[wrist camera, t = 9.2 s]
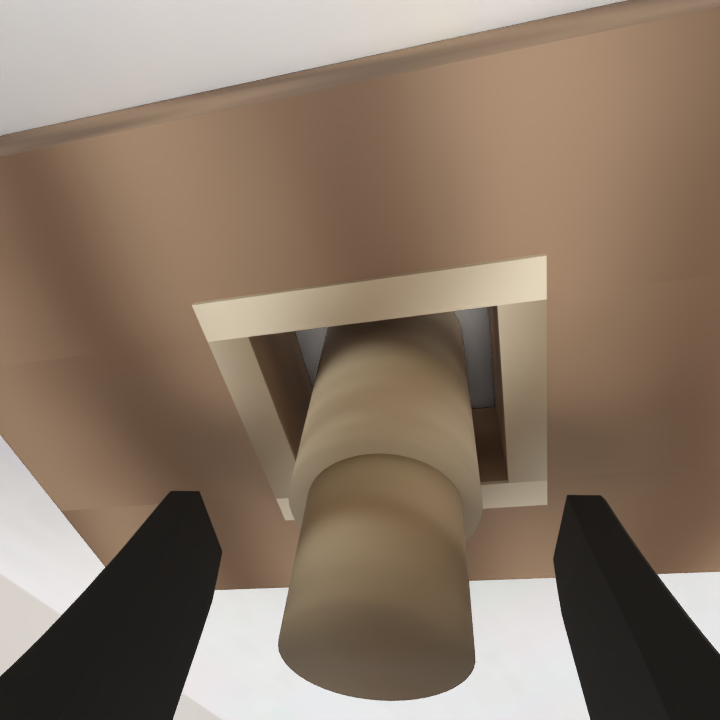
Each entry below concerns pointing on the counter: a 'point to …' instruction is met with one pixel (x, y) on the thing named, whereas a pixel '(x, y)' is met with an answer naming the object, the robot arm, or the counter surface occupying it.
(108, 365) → the socket board
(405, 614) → the beech peg
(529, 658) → the counter surface
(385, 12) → the counter surface
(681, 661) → the robot arm
